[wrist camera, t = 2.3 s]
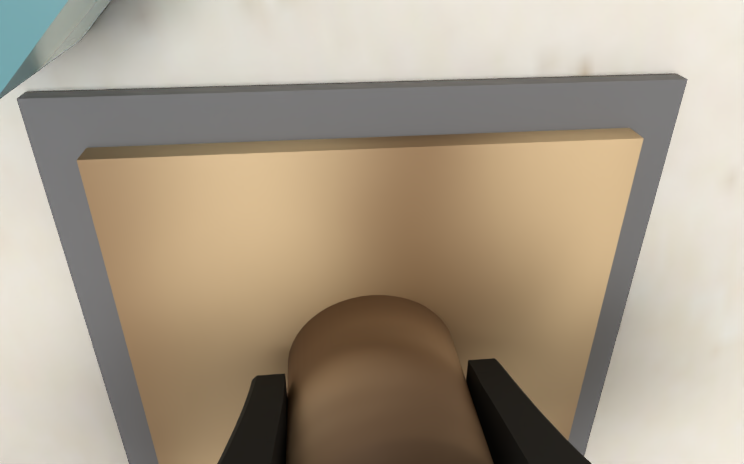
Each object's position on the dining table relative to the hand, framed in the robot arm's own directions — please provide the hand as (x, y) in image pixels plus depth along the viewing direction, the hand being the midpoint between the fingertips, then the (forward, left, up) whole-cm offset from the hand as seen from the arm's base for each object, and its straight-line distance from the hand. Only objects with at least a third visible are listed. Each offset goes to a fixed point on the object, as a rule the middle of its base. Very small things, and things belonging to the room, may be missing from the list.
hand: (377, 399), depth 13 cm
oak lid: (0, 0, -2) cm, 2 cm away
